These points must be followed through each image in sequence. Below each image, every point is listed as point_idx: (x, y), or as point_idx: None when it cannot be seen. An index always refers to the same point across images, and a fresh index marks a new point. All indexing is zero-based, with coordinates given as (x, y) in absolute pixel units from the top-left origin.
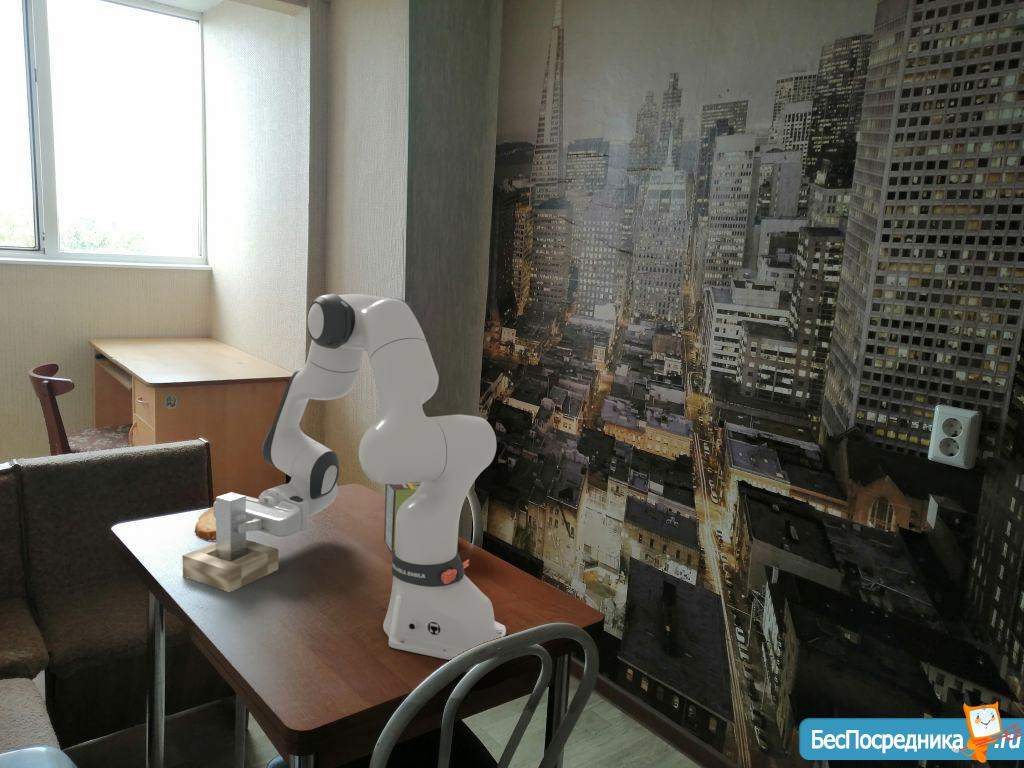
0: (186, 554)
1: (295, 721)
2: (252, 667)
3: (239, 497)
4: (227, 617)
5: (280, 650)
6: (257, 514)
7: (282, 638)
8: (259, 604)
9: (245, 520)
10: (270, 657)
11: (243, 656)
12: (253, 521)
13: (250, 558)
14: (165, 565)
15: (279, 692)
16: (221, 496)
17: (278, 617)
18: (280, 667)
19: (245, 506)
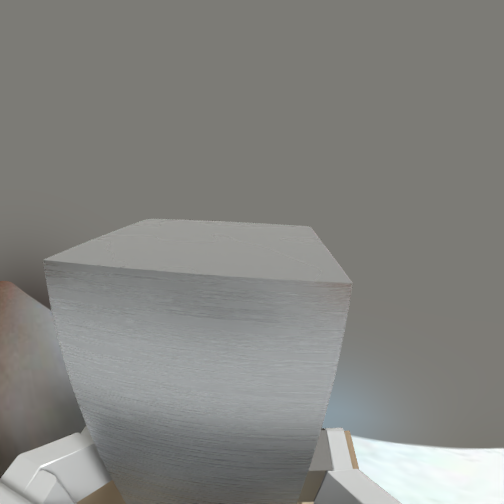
0: (347, 440)
1: (6, 282)
2: (36, 311)
3: (106, 240)
4: None
5: (9, 329)
6: (18, 502)
7: (6, 345)
8: (49, 418)
9: (114, 478)
10: (20, 321)
11: (48, 320)
12: (41, 449)
13: (99, 496)
14: (431, 474)
15: (13, 295)
16: (290, 231)
17: (11, 384)
18: (11, 313)
19: (75, 385)
